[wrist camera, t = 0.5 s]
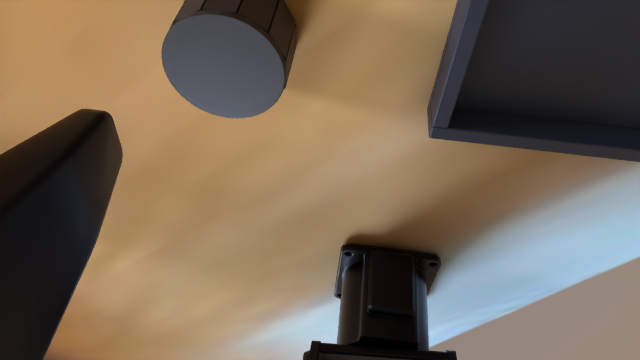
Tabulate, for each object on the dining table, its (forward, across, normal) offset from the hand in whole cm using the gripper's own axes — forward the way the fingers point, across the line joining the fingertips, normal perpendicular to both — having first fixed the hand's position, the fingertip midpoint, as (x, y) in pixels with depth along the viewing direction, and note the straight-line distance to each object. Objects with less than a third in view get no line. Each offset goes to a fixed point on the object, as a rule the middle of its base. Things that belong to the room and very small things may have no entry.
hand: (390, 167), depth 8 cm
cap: (+13, +6, +6) cm, 16 cm away
